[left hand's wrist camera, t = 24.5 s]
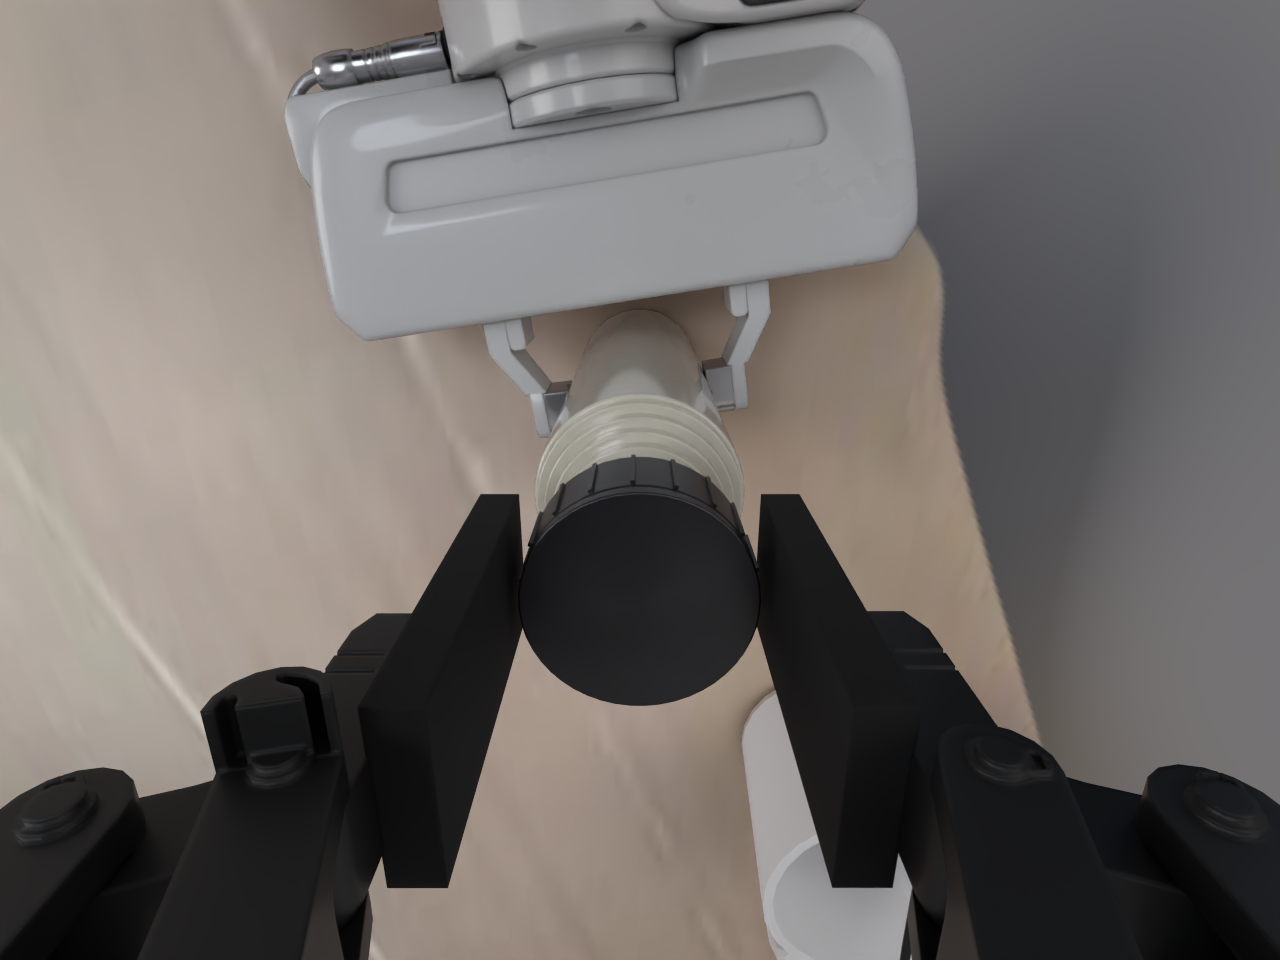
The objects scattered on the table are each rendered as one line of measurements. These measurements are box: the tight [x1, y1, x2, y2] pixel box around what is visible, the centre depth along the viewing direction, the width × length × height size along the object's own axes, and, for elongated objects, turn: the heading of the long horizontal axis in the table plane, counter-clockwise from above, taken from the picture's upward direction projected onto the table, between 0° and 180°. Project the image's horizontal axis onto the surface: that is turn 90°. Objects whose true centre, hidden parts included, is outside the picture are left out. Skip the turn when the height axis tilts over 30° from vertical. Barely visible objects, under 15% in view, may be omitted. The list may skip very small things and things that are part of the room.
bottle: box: [535, 310, 744, 517], centre depth 23 cm, size 5×5×21 cm
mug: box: [741, 690, 912, 960], centre depth 35 cm, size 11×9×10 cm
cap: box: [518, 455, 761, 706], centre depth 13 cm, size 4×4×2 cm
